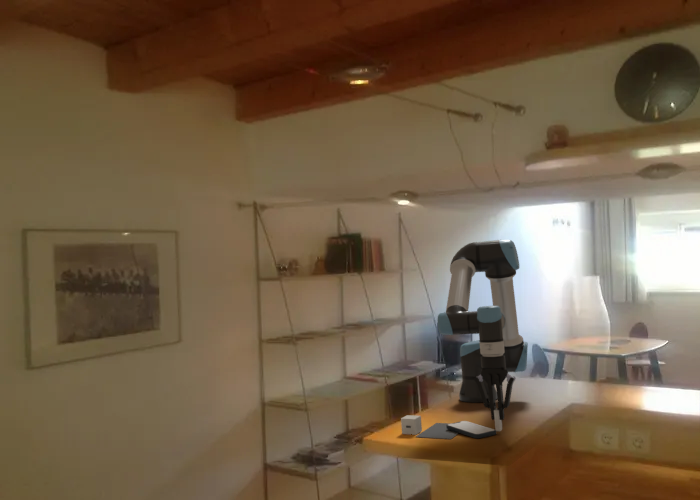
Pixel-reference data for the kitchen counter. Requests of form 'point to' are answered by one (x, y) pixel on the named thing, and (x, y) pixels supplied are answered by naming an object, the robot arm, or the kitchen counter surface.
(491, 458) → the kitchen counter surface
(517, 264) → the robot arm
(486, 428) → the phone case
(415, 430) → the charger block
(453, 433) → the charging mat
